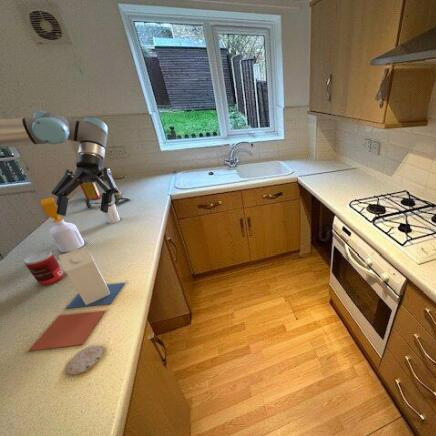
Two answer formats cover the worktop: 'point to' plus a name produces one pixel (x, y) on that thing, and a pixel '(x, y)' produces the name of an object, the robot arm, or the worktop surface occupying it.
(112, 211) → the white cup
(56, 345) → the terracotta mat
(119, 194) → the artificial flower
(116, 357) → the worktop surface
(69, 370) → the flatbread
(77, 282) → the milk carton
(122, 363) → the worktop surface
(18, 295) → the worktop surface
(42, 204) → the soap bottle
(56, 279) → the canned food
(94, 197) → the baking soda box
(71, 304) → the slate-blue mat
